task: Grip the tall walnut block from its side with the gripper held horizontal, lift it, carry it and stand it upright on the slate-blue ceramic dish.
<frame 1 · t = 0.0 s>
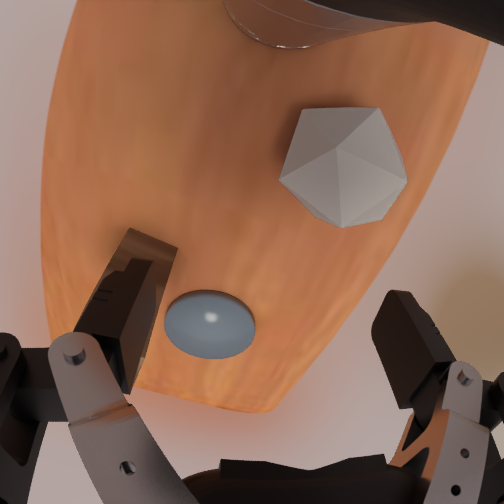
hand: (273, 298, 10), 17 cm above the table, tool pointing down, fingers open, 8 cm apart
die: (331, 150, 25), on the table
walnut block: (146, 257, 30), on the table
slate dish: (209, 323, 35), on the table
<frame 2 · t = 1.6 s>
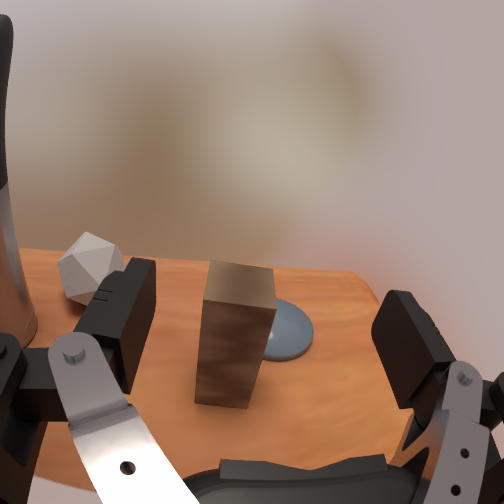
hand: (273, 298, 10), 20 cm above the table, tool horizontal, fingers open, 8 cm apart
die: (97, 298, 37), on the table
walnut block: (222, 386, 30), on the table
slate dish: (271, 330, 38), on the table
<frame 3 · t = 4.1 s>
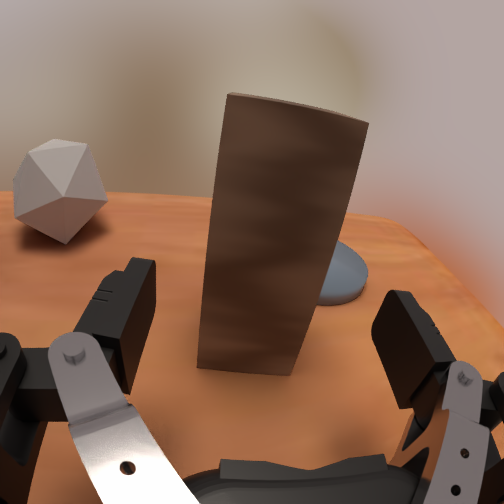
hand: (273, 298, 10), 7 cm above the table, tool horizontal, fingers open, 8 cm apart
die: (61, 231, 26), on the table
walnut block: (243, 340, 18), on the table
slate dish: (307, 267, 27), on the table
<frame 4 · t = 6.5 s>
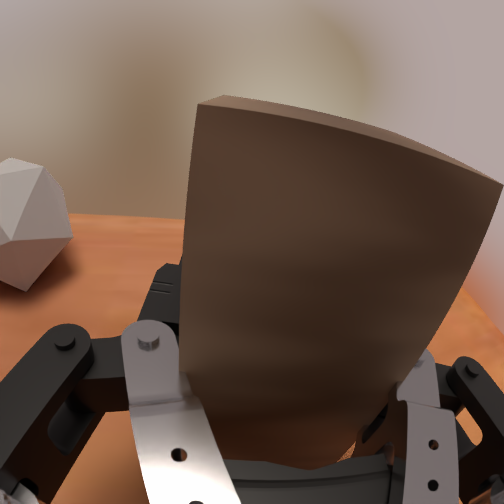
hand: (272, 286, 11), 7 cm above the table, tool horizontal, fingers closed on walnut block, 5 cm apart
die: (24, 271, 20), on the table
walnut block: (243, 445, 12), on the table, touching gripper
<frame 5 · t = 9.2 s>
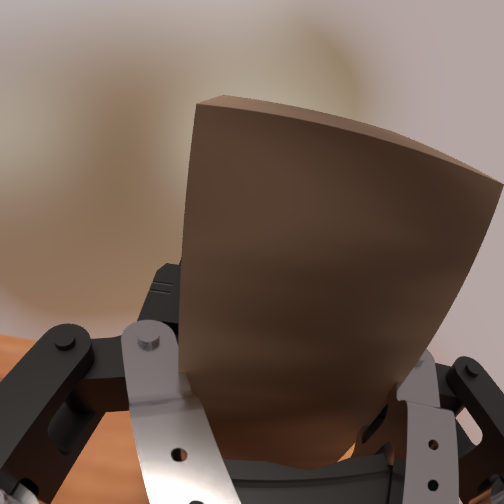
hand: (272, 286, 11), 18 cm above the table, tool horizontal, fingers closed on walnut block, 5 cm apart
walnut block: (244, 445, 12), point 11 cm above the table, touching gripper
when the fingers open (10 cm above the table, at t = 11.8 s): walnut block drops 1 cm, resting on slate dish.
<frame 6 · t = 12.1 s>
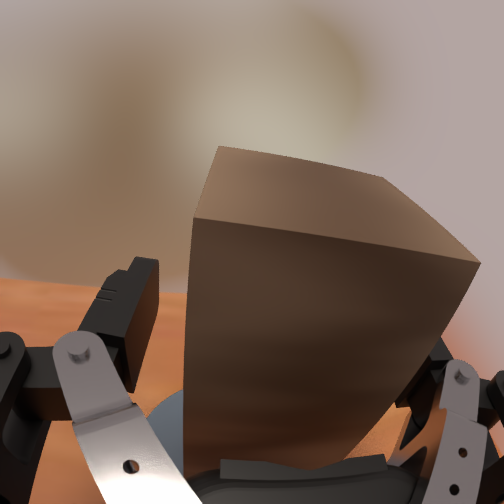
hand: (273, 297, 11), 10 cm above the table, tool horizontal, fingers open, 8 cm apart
walnut block: (240, 458, 13), point 1 cm above the table, touching slate dish
slate dish: (236, 465, 13), on the table
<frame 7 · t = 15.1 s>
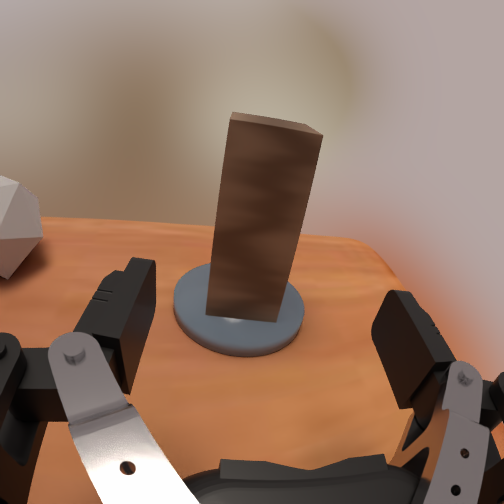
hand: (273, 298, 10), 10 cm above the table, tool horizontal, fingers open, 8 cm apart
die: (8, 264, 24), on the table
walnut block: (240, 297, 24), point 1 cm above the table, touching slate dish
slate dish: (238, 308, 25), on the table
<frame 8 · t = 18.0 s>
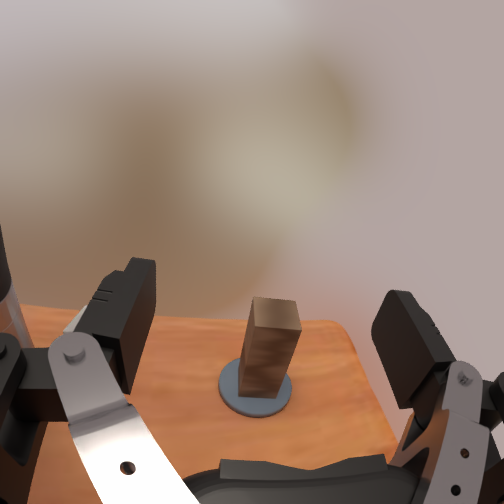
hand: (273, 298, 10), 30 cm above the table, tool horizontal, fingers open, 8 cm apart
die: (100, 359, 41), on the table
walnut block: (256, 383, 41), point 1 cm above the table, touching slate dish
slate dish: (254, 388, 42), on the table
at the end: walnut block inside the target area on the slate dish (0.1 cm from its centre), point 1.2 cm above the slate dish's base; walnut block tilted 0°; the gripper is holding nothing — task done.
